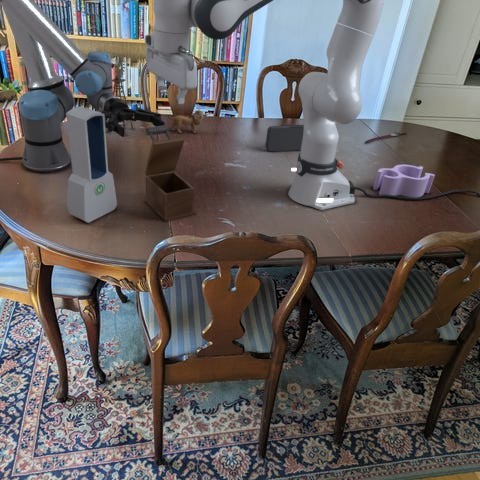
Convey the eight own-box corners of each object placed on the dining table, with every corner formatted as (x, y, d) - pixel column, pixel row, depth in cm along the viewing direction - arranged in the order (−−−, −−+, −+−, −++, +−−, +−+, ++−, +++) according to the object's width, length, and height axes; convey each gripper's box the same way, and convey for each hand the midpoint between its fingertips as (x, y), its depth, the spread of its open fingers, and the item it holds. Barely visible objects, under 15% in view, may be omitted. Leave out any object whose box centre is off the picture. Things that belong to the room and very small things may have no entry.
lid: (184, 139, 133) (171, 119, 137) (154, 144, 128) (141, 122, 132) (174, 170, 143) (163, 150, 147) (146, 176, 138) (134, 155, 142)
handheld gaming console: (315, 147, 196) (319, 124, 190) (317, 149, 194) (322, 126, 188) (264, 149, 189) (267, 125, 183) (266, 152, 187) (269, 127, 181)
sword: (403, 131, 224) (404, 129, 223) (408, 133, 222) (409, 131, 221) (360, 143, 208) (360, 140, 207) (365, 145, 206) (366, 142, 205)
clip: (386, 199, 160) (391, 181, 156) (367, 183, 170) (371, 166, 166) (433, 195, 166) (439, 178, 163) (412, 180, 176) (417, 163, 172)
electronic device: (85, 224, 129) (74, 119, 113) (67, 215, 132) (53, 112, 116) (118, 208, 139) (112, 108, 122) (99, 200, 142) (92, 102, 125)
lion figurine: (200, 128, 202) (201, 108, 197) (204, 133, 198) (205, 112, 193) (167, 129, 197) (167, 108, 192) (170, 134, 193) (170, 113, 188)
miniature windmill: (125, 135, 188) (121, 57, 171) (105, 132, 189) (100, 54, 172) (134, 128, 195) (131, 52, 179) (115, 125, 196) (110, 49, 180)
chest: (193, 214, 140) (194, 188, 136) (164, 221, 135) (165, 194, 131) (173, 196, 149) (174, 171, 144) (146, 202, 144) (145, 176, 139)
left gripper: (147, 115, 165) (178, 135, 151) (78, 124, 151) (105, 147, 137) (147, 93, 160) (179, 112, 147) (76, 101, 147) (103, 122, 133)
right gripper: (205, 51, 112) (202, 108, 119) (162, 34, 125) (162, 86, 132) (182, 52, 108) (180, 111, 116) (141, 34, 121) (142, 88, 129)
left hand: (143, 129), depth 142 cm, fingers open, 13 cm apart
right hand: (170, 98), depth 124 cm, fingers open, 8 cm apart
